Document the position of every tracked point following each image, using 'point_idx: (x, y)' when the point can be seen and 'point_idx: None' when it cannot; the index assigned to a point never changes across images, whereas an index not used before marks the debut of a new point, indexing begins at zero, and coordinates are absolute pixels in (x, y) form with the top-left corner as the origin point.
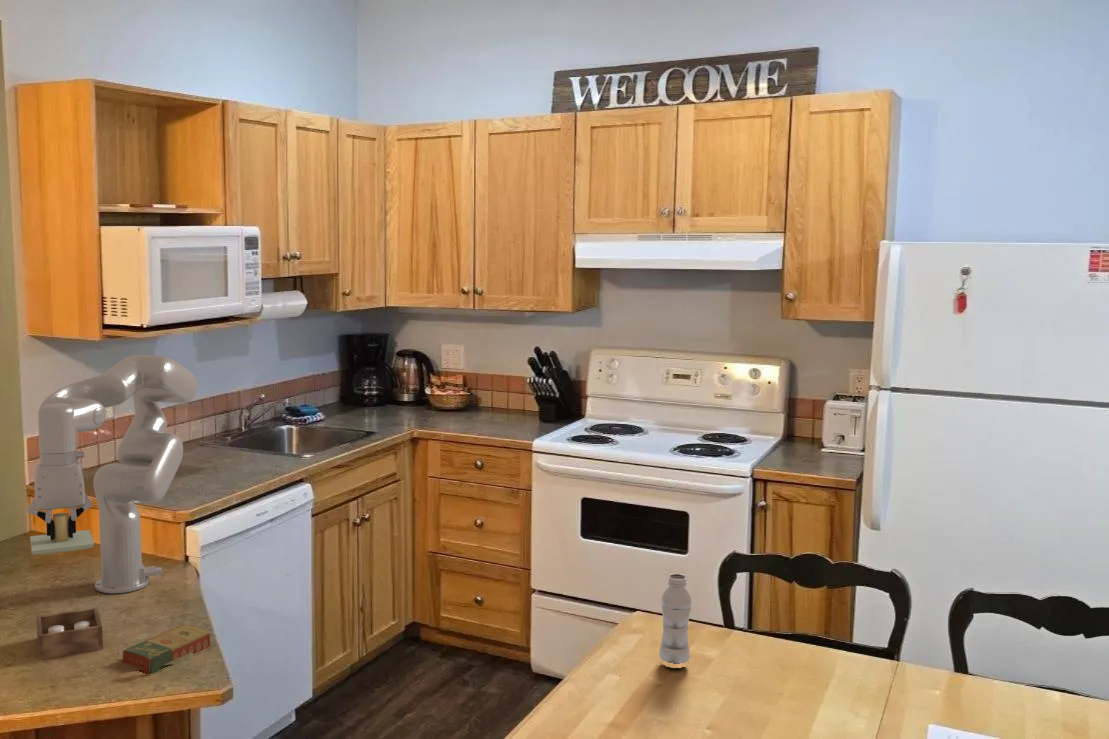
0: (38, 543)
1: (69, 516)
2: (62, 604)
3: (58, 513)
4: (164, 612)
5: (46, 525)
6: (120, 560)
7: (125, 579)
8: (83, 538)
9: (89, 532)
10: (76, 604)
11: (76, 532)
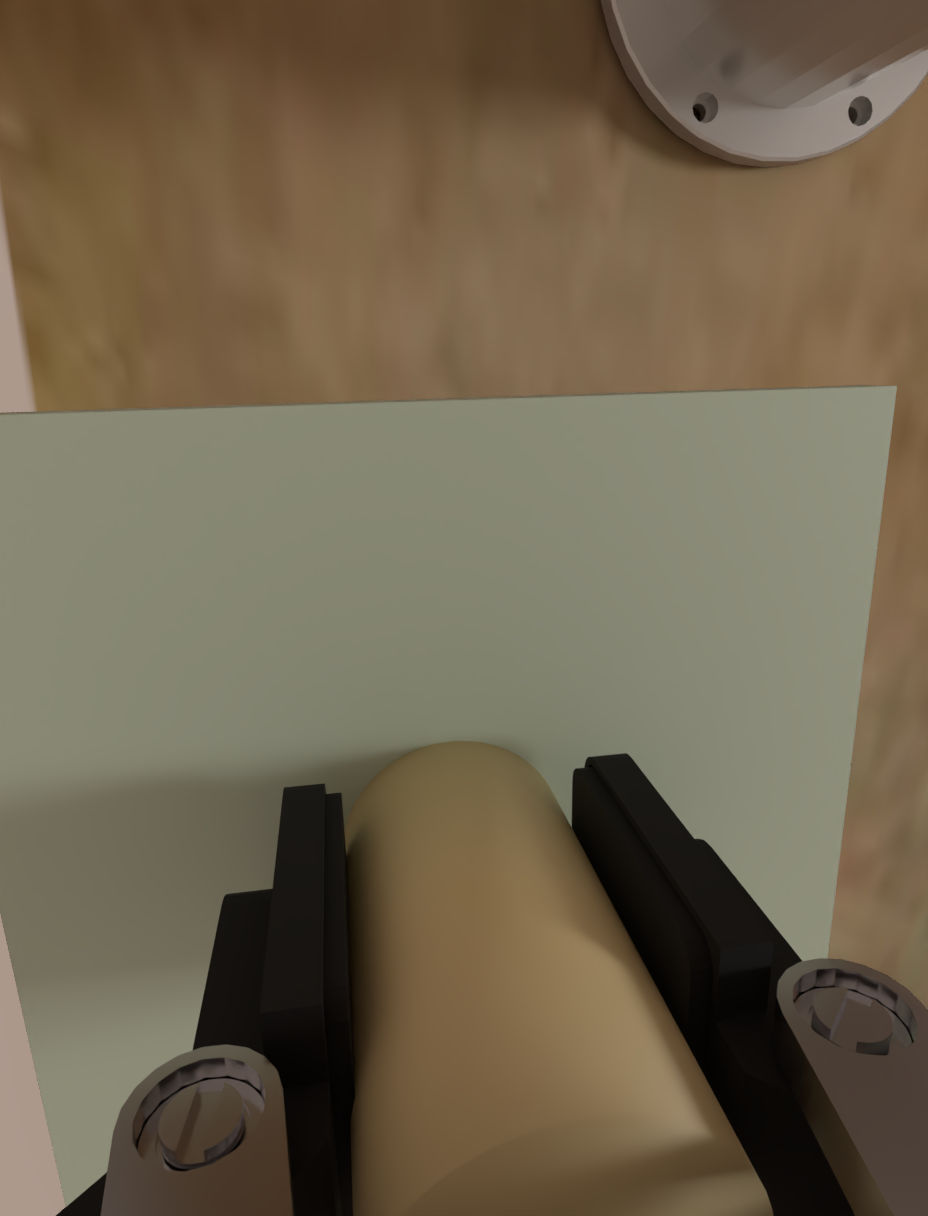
0: (119, 918)
1: (750, 1097)
2: (361, 212)
3: (518, 1185)
4: (877, 619)
5: (201, 1019)
6: (909, 18)
7: (826, 88)
8: (737, 852)
9: (864, 552)
10: (451, 257)
11: (691, 477)
